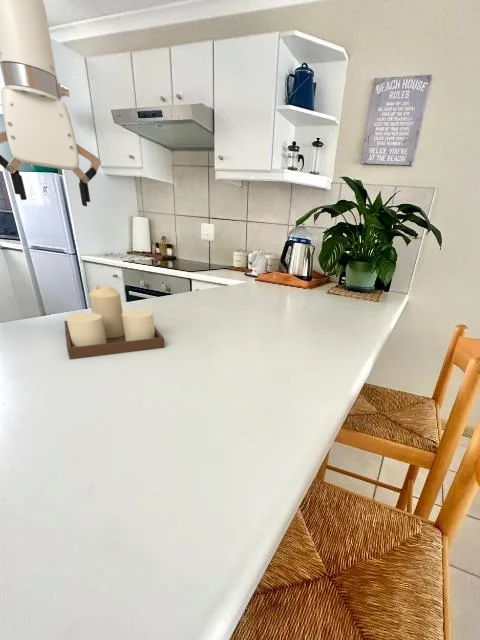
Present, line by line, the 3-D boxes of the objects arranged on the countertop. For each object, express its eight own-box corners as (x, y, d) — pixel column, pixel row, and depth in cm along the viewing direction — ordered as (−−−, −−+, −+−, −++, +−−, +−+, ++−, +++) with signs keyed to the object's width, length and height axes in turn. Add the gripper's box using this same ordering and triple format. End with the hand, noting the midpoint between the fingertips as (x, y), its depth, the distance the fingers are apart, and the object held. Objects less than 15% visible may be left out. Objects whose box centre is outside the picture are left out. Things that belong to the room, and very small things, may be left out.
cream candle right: (128, 348, 63) (124, 318, 60) (124, 339, 67) (119, 310, 64) (158, 344, 66) (155, 316, 63) (152, 336, 70) (149, 308, 67)
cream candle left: (74, 355, 58) (66, 322, 55) (73, 344, 62) (65, 314, 60) (109, 350, 61) (103, 320, 58) (105, 341, 65) (100, 312, 62)
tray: (70, 363, 57) (67, 348, 56) (67, 333, 69) (64, 320, 68) (165, 351, 65) (164, 338, 64) (147, 326, 78) (145, 314, 76)
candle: (92, 333, 68) (82, 285, 64) (118, 328, 72) (111, 282, 68) (103, 340, 65) (94, 290, 61) (130, 335, 69) (123, 287, 65)
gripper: (90, 105, 61) (104, 207, 69) (-33, 76, 52) (-1, 196, 60) (93, 97, 56) (108, 209, 63) (-43, 62, 47) (-7, 197, 55)
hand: (55, 202), depth 62 cm, fingers open, 9 cm apart
